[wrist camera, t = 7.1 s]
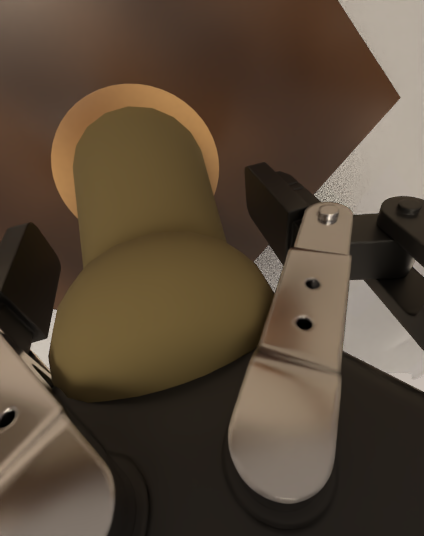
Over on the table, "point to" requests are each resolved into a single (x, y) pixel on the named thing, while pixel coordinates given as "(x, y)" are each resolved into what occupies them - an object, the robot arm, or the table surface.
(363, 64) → the placemat
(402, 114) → the table surface
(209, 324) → the pepper shaker
